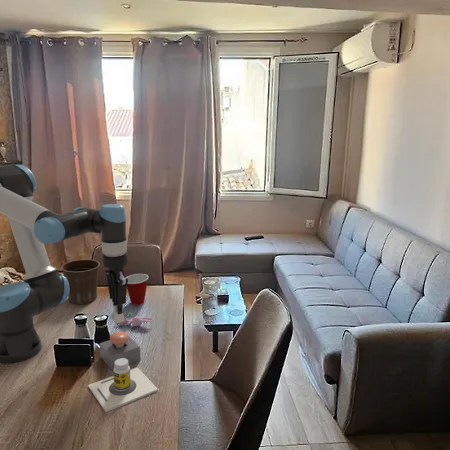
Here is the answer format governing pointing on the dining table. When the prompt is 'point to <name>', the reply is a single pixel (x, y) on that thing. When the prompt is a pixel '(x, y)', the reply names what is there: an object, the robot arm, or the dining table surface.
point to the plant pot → (81, 280)
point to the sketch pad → (115, 398)
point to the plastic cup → (137, 288)
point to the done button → (119, 339)
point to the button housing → (119, 352)
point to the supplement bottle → (121, 374)
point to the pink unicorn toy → (134, 320)
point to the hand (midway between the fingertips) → (118, 321)
